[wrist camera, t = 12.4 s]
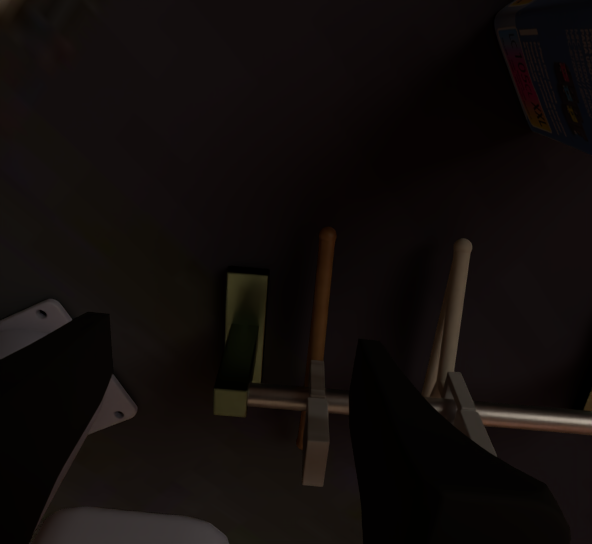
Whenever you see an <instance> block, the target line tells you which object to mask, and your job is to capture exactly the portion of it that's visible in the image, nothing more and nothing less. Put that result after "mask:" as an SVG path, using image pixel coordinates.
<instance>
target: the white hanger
mask: <svg viewBox="0 0 592 544" xmlns="http://www.w3.org/2000/svg"><path fill="white" fill-rule="evenodd" d="M453 249H454V254H453V260H452V265H451V269H450V273H449V278H448V282H447V286H446V290H445V295H444V299H443V303H442V308H441V312H440V316H439V320H438V325H437V329H436V333H435V338H434V342H433V346H432V350H431V355H430V359H429V363H428V368H427V372H426V376H425V381H424V385H423V389H422V393H421V395H422V396H423V397H432V398H443V399H454V401H455V404H456V406H457V412H456V416H455V419H454V423H453V424H452V423H451V424H452V425H453V426H455V427H456V428H457V429H458V430H460V431H461V432H462V433H463V434H465V435H466V436H467V437H469V438H470V439H471V440H473V441H474V442H475V443H477V444H478V445H479V446H481V447H482V448H484V449H485V450H487V451H488V452H490V453H491V454H493V455H494V456H496V457H497V455H496V452H495V450H494V448H493V445H492V443H491V441H490V438H489V436H488V434H487V431H486V429H485V427H484V424H483V422H482V420H481V418H480V415H479V413H478V412H475V411H476V407H475V405H474V402H473V400H472V398H471V396H470V393H469V391H468V389H467V386H466V384H465V382H464V379H463V377H462V375H461V373H460V372H454V367H455V360H456V353H457V345H458V338H459V331H460V324H461V317H462V310H463V302H464V295H465V288H466V281H467V274H468V266H469V259H470V253H471V251H472V244H471V242H470V241H469V240H467V239H464V238H462V239H458V240H457V241H456V242H455V243H454V246H453Z"/></svg>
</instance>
